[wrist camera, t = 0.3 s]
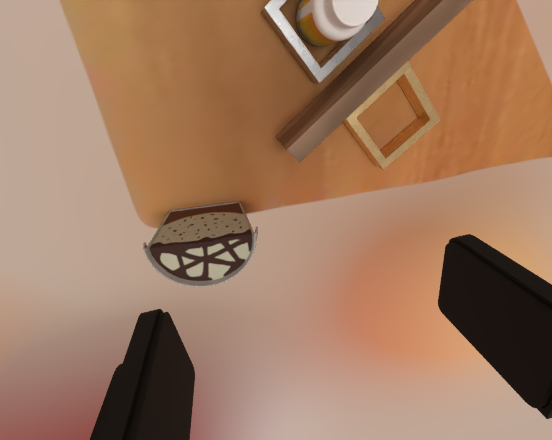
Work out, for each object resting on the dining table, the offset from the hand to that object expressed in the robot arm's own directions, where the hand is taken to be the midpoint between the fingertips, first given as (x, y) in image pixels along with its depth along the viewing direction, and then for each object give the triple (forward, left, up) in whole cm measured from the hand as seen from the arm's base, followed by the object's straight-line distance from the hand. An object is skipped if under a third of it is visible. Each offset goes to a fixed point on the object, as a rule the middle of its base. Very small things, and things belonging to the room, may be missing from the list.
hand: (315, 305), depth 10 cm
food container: (+11, -6, -30) cm, 33 cm away
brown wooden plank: (-7, +14, -30) cm, 33 cm away
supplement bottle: (-12, +9, -30) cm, 33 cm away
